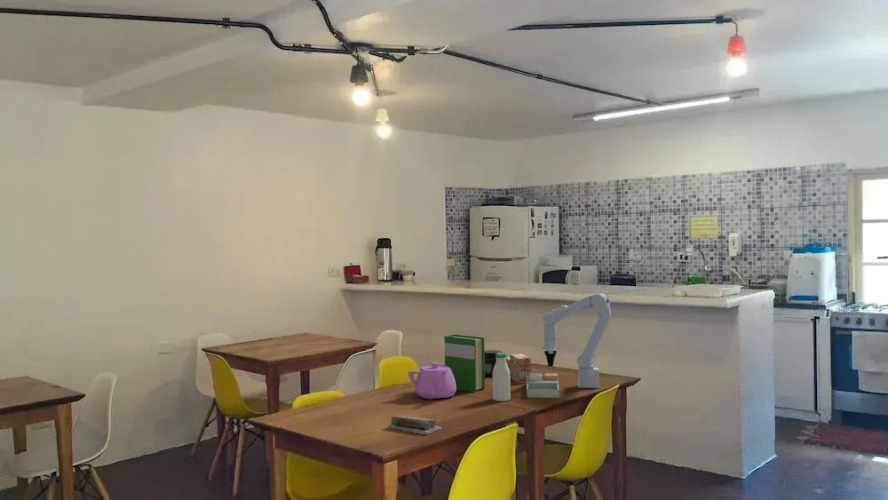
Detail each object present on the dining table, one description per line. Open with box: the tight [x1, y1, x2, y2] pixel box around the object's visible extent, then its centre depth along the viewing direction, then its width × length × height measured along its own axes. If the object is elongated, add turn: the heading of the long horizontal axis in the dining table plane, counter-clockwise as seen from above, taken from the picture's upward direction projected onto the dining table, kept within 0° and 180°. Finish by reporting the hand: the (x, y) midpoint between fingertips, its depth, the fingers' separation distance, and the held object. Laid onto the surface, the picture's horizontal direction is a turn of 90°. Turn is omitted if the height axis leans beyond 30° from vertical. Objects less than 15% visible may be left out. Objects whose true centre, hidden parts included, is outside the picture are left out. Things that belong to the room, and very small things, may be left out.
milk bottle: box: [492, 352, 512, 402], centre depth 309 cm, size 8×8×20 cm
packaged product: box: [388, 413, 443, 435], centre depth 266 cm, size 18×5×10 cm
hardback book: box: [443, 334, 486, 393], centre depth 332 cm, size 18×7×24 cm, turn 50°
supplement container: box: [484, 349, 503, 378], centre depth 362 cm, size 10×10×12 cm
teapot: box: [407, 361, 457, 400], centre depth 314 cm, size 23×21×15 cm
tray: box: [526, 384, 560, 399], centre depth 317 cm, size 14×12×4 cm
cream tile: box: [529, 372, 543, 380], centre depth 332 cm, size 6×6×2 cm
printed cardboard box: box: [506, 353, 532, 385], centre depth 352 cm, size 21×6×12 cm, turn 14°
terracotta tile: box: [543, 372, 559, 380], centre depth 332 cm, size 6×6×2 cm
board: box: [525, 375, 560, 390], centre depth 330 cm, size 14×15×4 cm
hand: (550, 366), depth 339 cm, fingers closed
